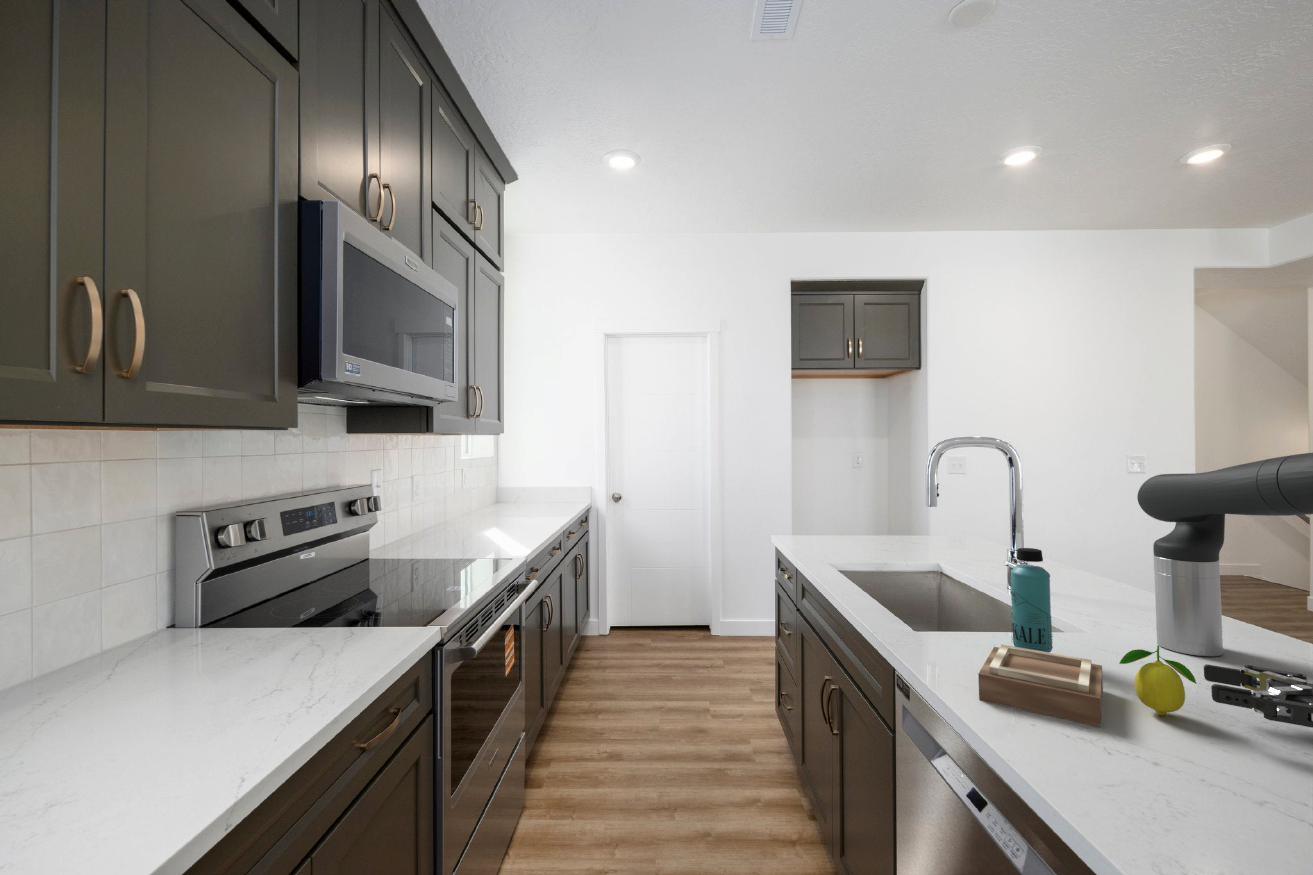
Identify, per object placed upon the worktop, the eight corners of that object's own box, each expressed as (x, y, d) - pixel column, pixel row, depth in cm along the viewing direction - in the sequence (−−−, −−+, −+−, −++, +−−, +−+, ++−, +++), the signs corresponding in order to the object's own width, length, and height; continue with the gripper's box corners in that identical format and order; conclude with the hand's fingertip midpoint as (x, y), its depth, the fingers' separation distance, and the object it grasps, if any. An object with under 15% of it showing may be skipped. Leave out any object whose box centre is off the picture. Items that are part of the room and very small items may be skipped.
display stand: (994, 669, 101) (994, 640, 101) (1103, 690, 91) (1101, 659, 91) (979, 699, 89) (978, 667, 89) (1101, 727, 80) (1099, 691, 80)
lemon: (1120, 709, 85) (1118, 641, 85) (1143, 701, 87) (1141, 635, 87) (1176, 729, 79) (1173, 656, 79) (1199, 720, 81) (1196, 649, 81)
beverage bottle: (1041, 649, 110) (1037, 545, 110) (1062, 662, 103) (1058, 551, 104) (1005, 649, 110) (1001, 545, 111) (1023, 662, 104) (1020, 551, 104)
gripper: (1369, 664, 75) (1200, 640, 85) (1414, 703, 64) (1213, 670, 74) (1371, 721, 75) (1202, 691, 85) (1417, 771, 64) (1215, 729, 74)
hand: (1207, 681), depth 80 cm, fingers open, 8 cm apart
